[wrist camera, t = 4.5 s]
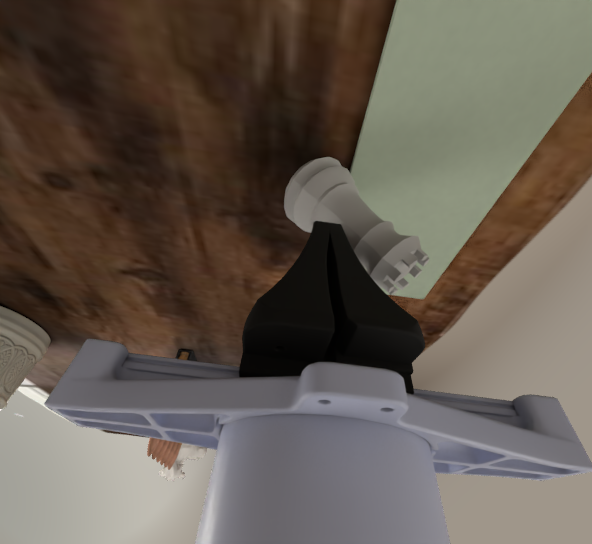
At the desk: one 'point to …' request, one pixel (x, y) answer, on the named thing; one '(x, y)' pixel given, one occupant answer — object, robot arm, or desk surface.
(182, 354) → the ammunition clip
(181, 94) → the desk surface
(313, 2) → the desk surface
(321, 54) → the desk surface
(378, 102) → the mat
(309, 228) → the rook chess piece
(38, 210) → the desk surface
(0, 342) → the jar
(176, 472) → the white tied sack
